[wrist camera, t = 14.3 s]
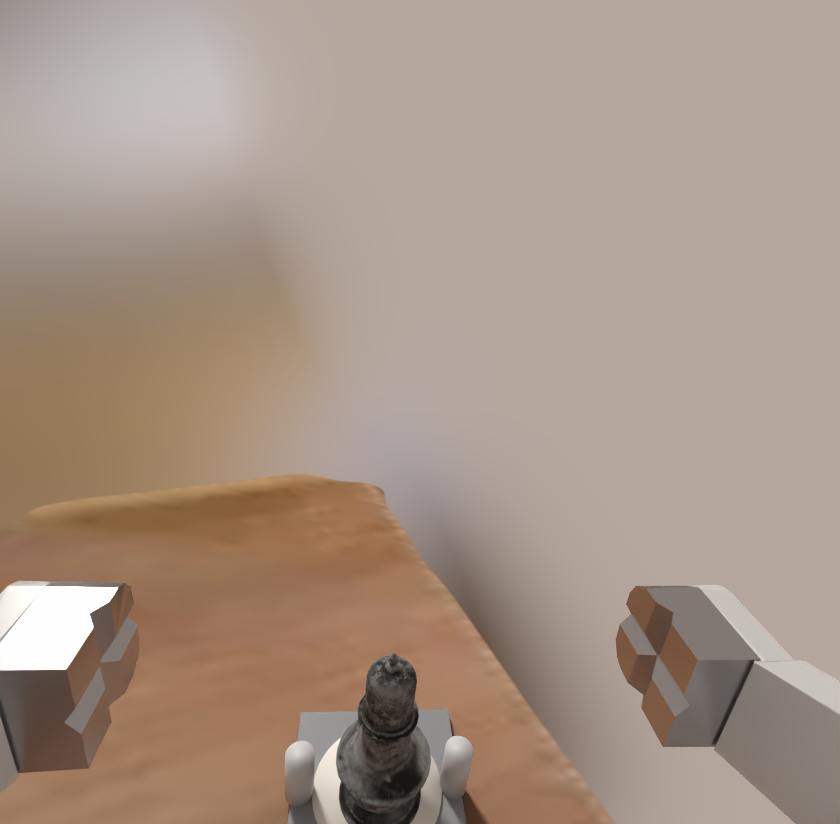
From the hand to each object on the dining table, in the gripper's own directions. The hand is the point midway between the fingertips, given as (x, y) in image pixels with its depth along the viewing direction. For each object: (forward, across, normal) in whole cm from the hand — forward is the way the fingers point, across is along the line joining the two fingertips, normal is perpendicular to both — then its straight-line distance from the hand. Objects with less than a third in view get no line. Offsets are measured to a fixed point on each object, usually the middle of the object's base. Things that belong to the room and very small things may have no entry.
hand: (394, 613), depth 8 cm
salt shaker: (+15, -2, +29) cm, 33 cm away
